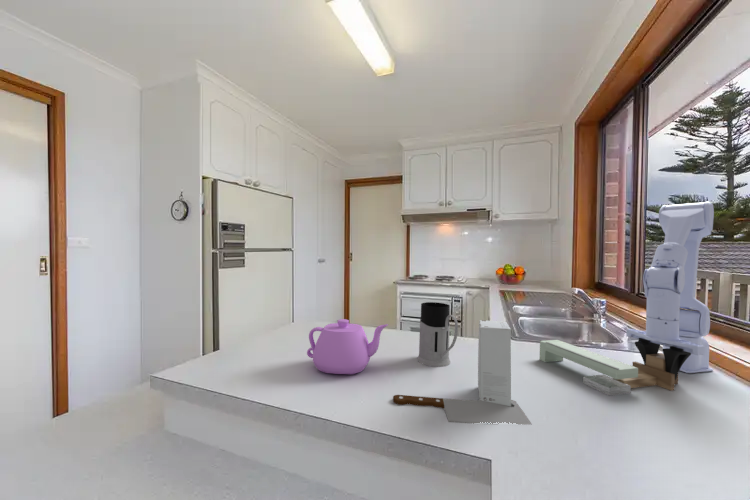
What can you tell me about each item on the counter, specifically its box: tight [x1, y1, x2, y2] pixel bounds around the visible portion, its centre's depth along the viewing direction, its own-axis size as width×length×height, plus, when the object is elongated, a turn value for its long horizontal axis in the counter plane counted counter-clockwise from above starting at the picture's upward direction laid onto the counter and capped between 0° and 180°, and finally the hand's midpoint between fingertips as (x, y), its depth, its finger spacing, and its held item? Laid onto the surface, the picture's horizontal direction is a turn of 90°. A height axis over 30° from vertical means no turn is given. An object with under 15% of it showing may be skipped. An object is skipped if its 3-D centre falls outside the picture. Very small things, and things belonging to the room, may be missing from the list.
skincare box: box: [477, 319, 512, 407], centre depth 62 cm, size 8×6×15 cm
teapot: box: [306, 318, 389, 376], centre depth 75 cm, size 20×13×12 cm, turn 85°
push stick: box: [613, 352, 679, 391], centre depth 71 cm, size 16×8×6 cm, turn 105°
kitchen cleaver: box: [392, 394, 533, 426], centre depth 56 cm, size 24×1×10 cm
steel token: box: [582, 374, 632, 397], centre depth 68 cm, size 6×6×2 cm
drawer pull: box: [539, 339, 638, 379], centre depth 76 cm, size 6×21×6 cm, turn 15°
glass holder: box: [417, 301, 459, 368], centre depth 79 cm, size 9×14×15 cm, turn 21°
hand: (660, 375), depth 72 cm, fingers closed on push stick, 3 cm apart
